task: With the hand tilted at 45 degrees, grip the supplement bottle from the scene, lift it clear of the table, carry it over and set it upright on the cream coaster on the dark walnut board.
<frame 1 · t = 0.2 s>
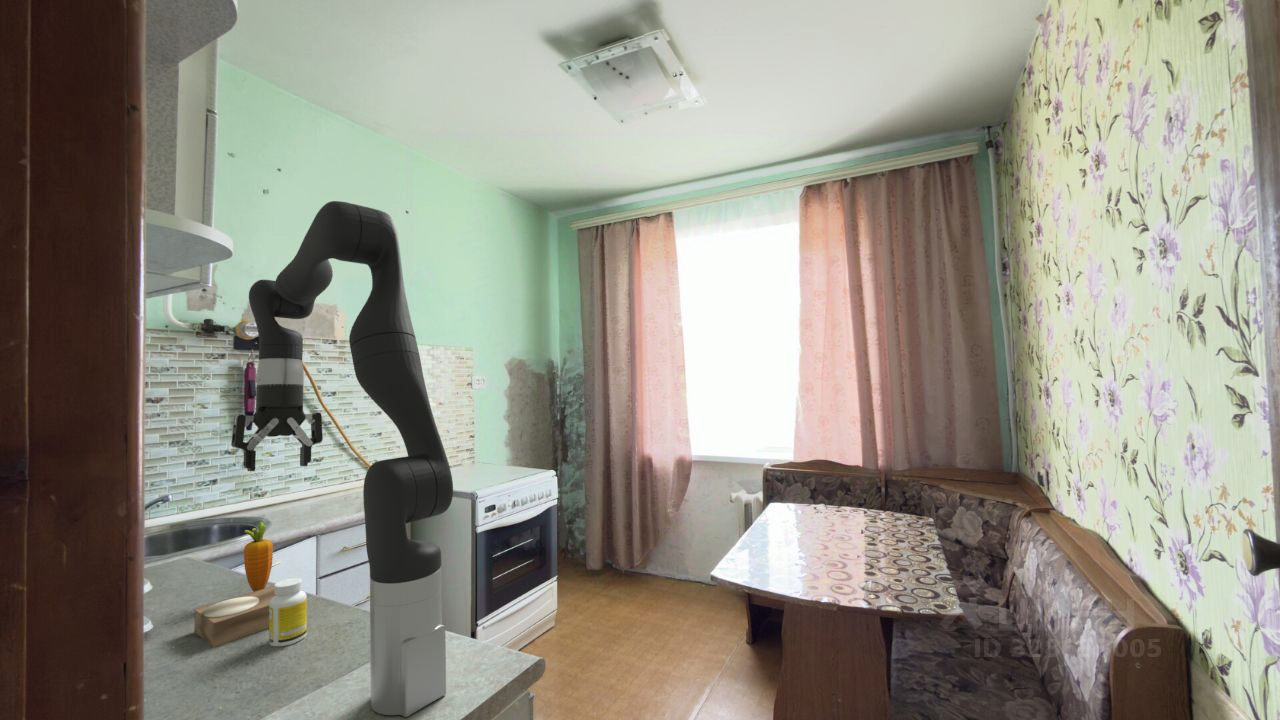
hand: (278, 468, 99), 28 cm above the counter, tool pointing down, fingers open, 8 cm apart
supplement bottle: (288, 640, 90), on the counter
carrot: (258, 596, 110), on the counter
walnut board: (251, 623, 97), on the counter
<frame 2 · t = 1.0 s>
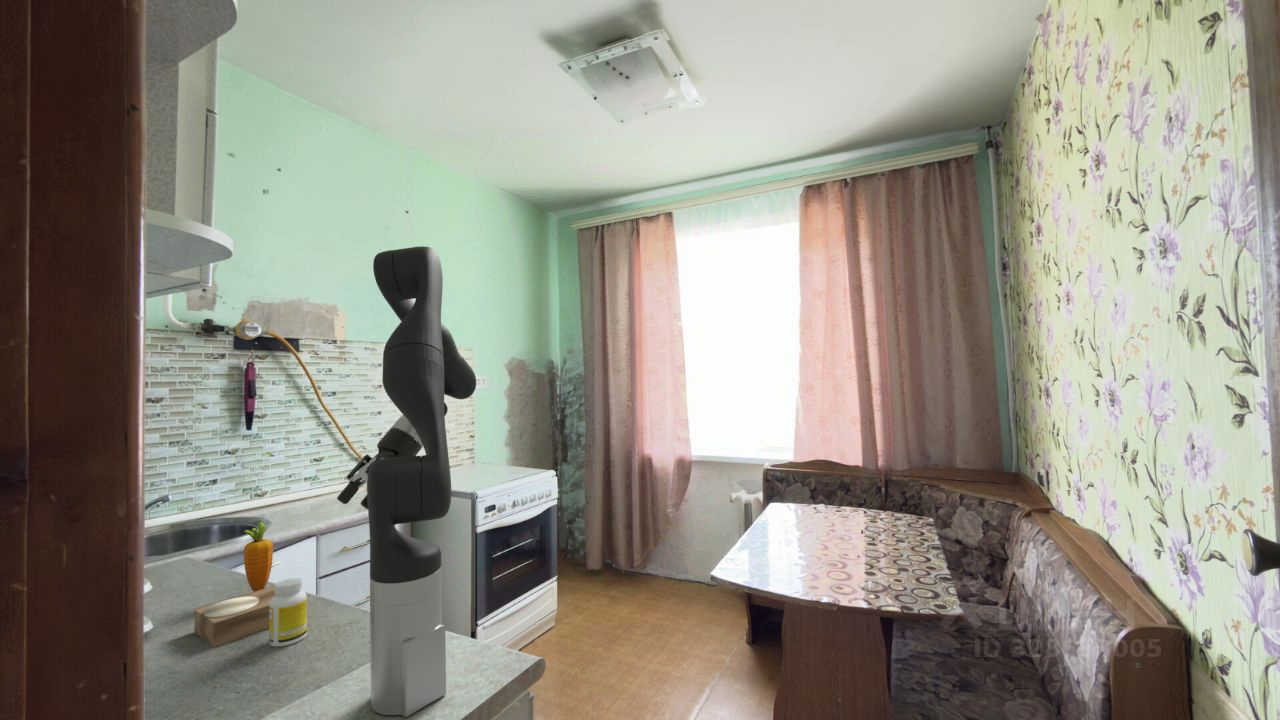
hand: (352, 504, 100), 21 cm above the counter, tool tilted 45°, fingers open, 8 cm apart
nothing on the counter moved.
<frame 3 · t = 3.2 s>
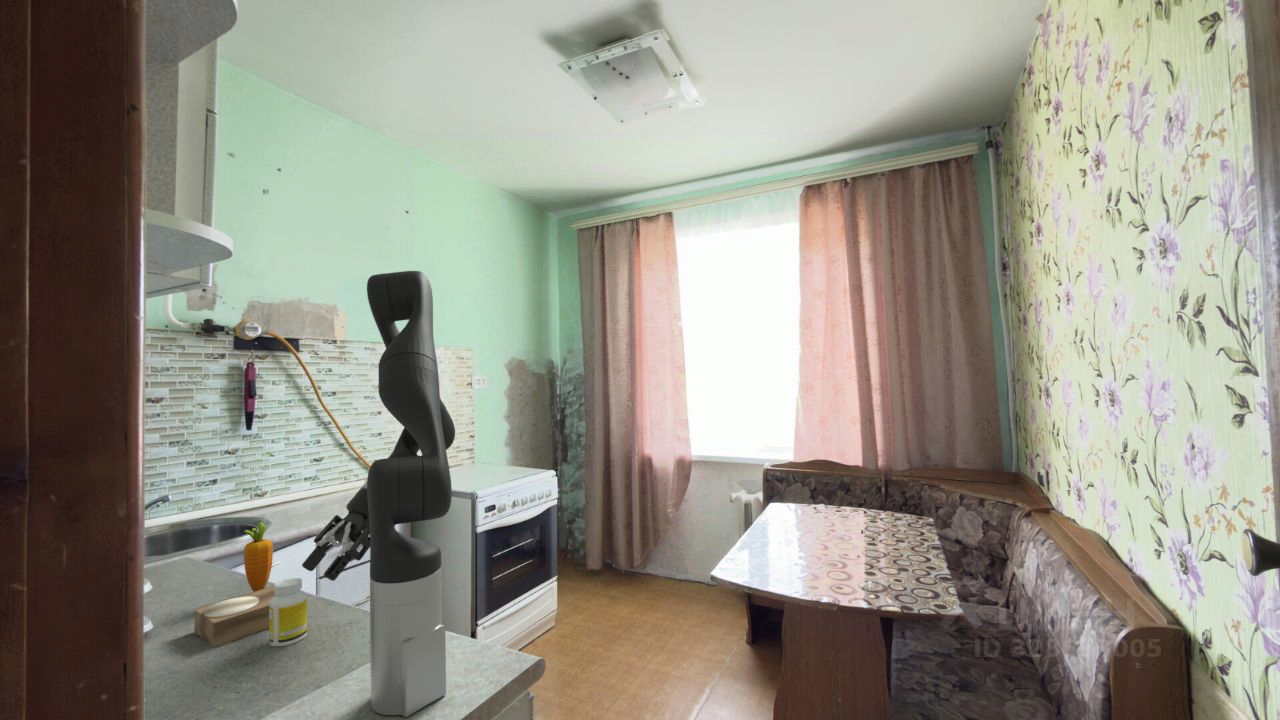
hand: (316, 573, 94), 10 cm above the counter, tool tilted 45°, fingers open, 8 cm apart
nothing on the counter moved.
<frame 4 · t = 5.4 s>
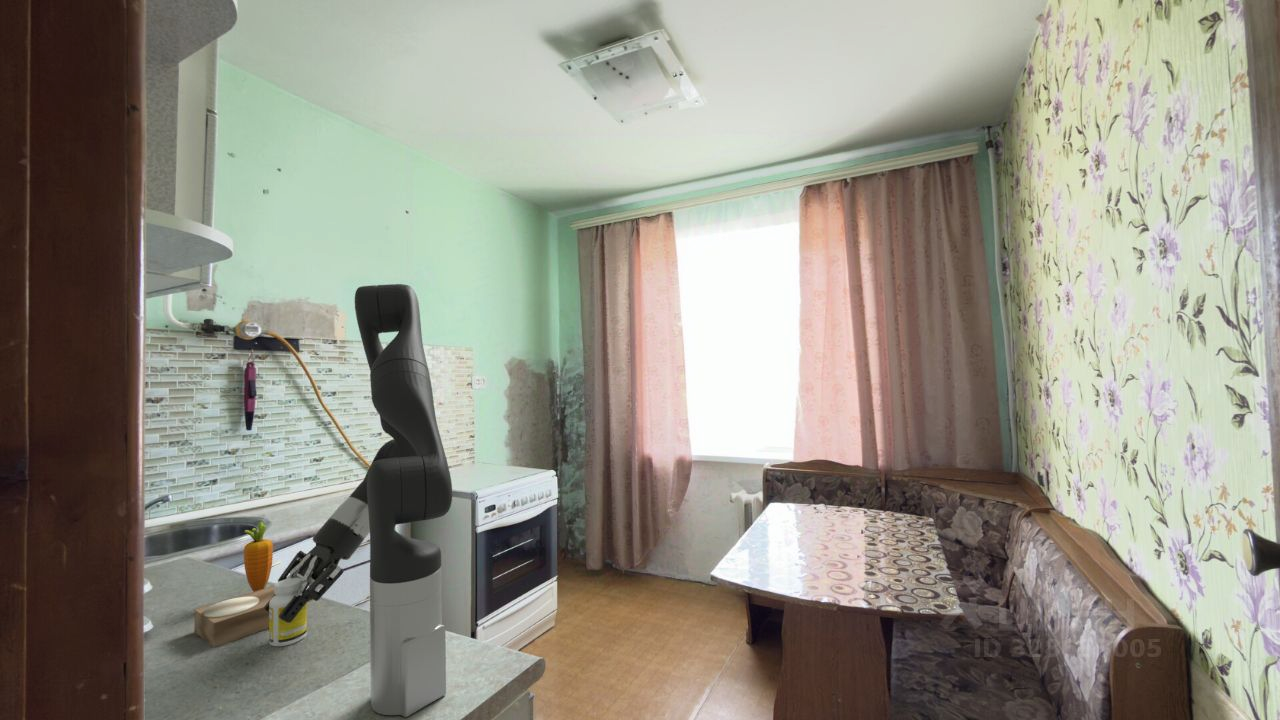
hand: (276, 615, 89), 5 cm above the counter, tool tilted 45°, fingers closed on supplement bottle, 5 cm apart
supplement bottle: (288, 640, 90), on the counter, touching gripper
everything else where it was.
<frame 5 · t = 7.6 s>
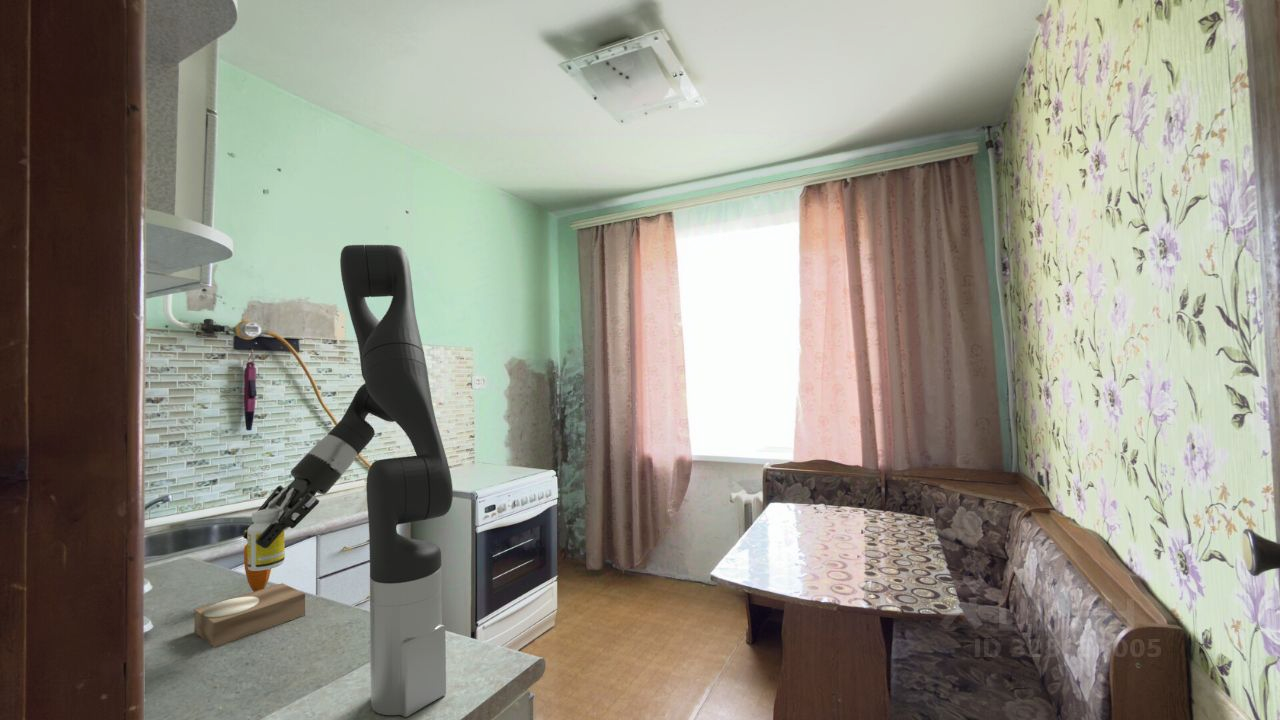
hand: (254, 542, 92), 16 cm above the counter, tool tilted 45°, fingers closed on supplement bottle, 5 cm apart
supplement bottle: (266, 567, 93), point 12 cm above the counter, touching gripper
everything else where it was.
when the fingers open (10 cm above the counter, at t = 10.2 s): supplement bottle drops 1 cm, resting on walnut board.
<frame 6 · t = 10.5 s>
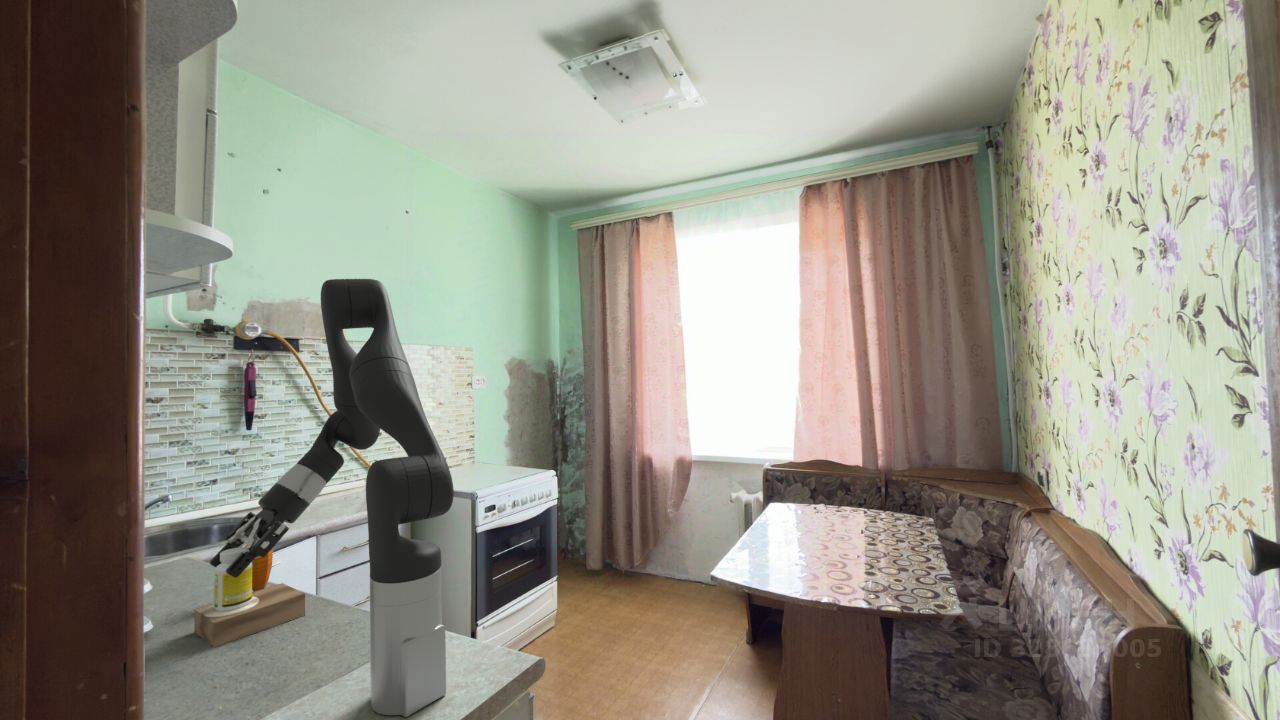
hand: (222, 570, 93), 11 cm above the counter, tool tilted 45°, fingers open, 7 cm apart
supplement bottle: (233, 606, 94), point 4 cm above the counter, touching walnut board
everything else where it was.
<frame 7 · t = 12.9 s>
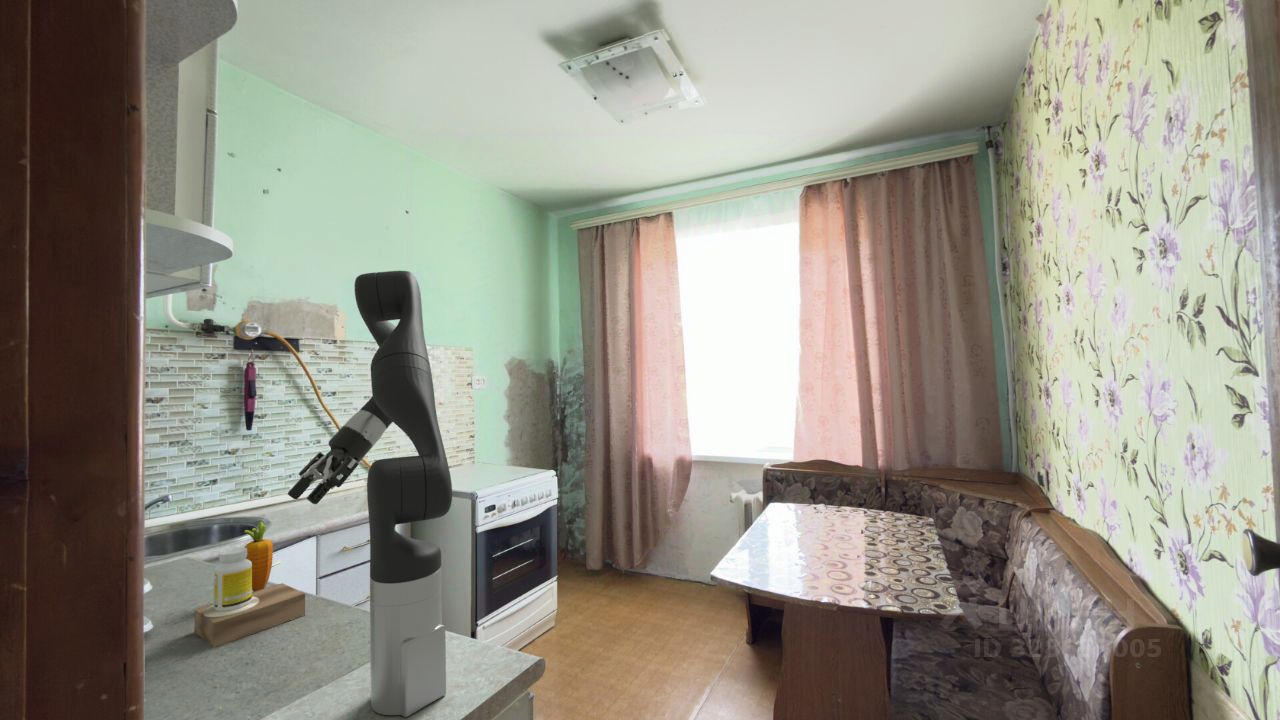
hand: (301, 499, 104), 21 cm above the counter, tool tilted 45°, fingers open, 8 cm apart
nothing on the counter moved.
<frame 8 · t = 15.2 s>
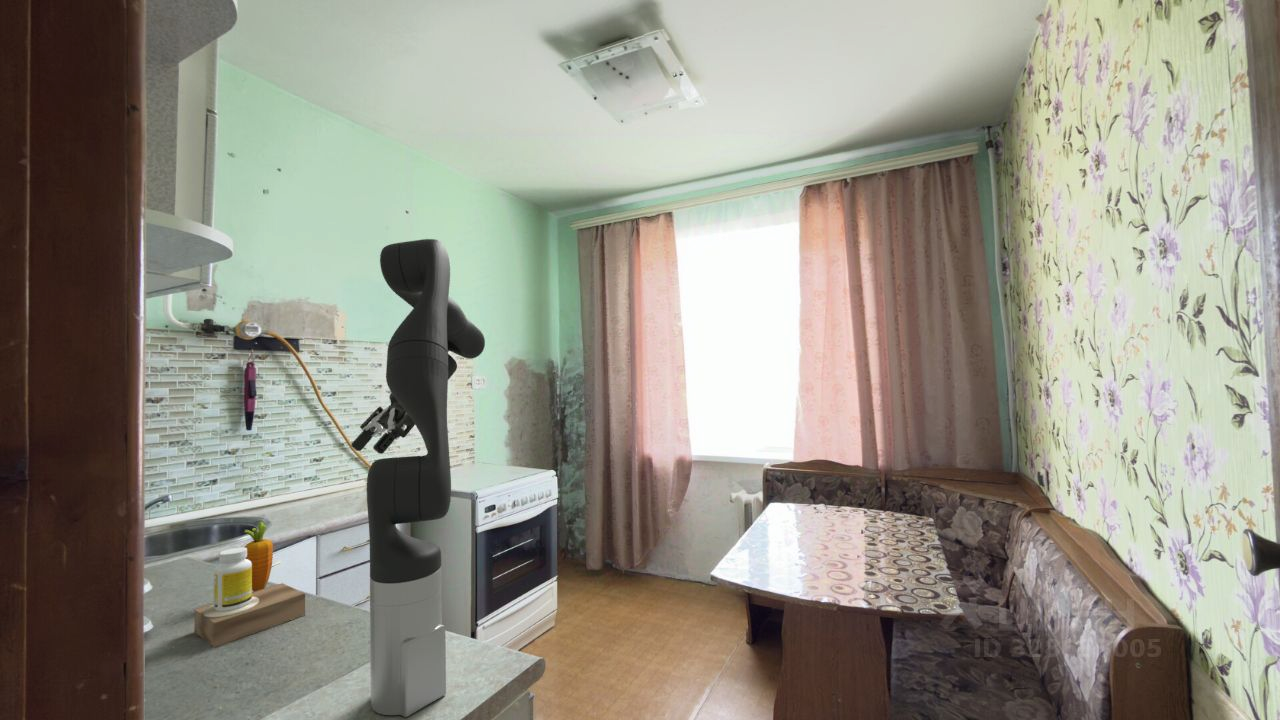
hand: (365, 449, 104), 31 cm above the counter, tool tilted 45°, fingers open, 8 cm apart
nothing on the counter moved.
at the end: supplement bottle inside the target area (0.5 cm from its centre), point 4.1 cm above the counter; supplement bottle tilted 0°; the gripper is holding nothing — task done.
